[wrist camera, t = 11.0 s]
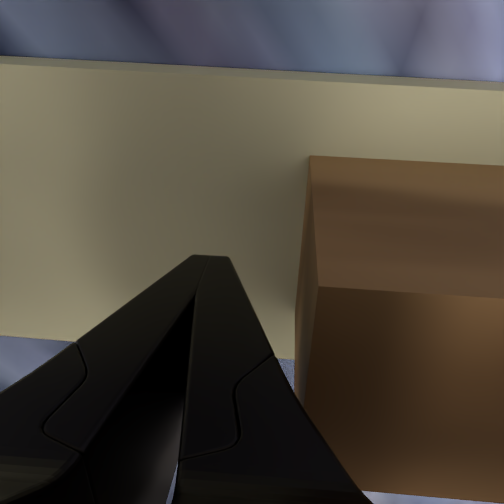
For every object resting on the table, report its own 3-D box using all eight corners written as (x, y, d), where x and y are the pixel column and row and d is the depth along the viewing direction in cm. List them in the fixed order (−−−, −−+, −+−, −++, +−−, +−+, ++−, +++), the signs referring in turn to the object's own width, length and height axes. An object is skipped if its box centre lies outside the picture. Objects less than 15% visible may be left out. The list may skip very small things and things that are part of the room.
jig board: (915, 389, 12) (952, 413, 12) (-37, 312, 14) (-54, 331, 13) (1209, 119, 9) (1286, 133, 8) (-131, 48, 10) (-162, 55, 9)
